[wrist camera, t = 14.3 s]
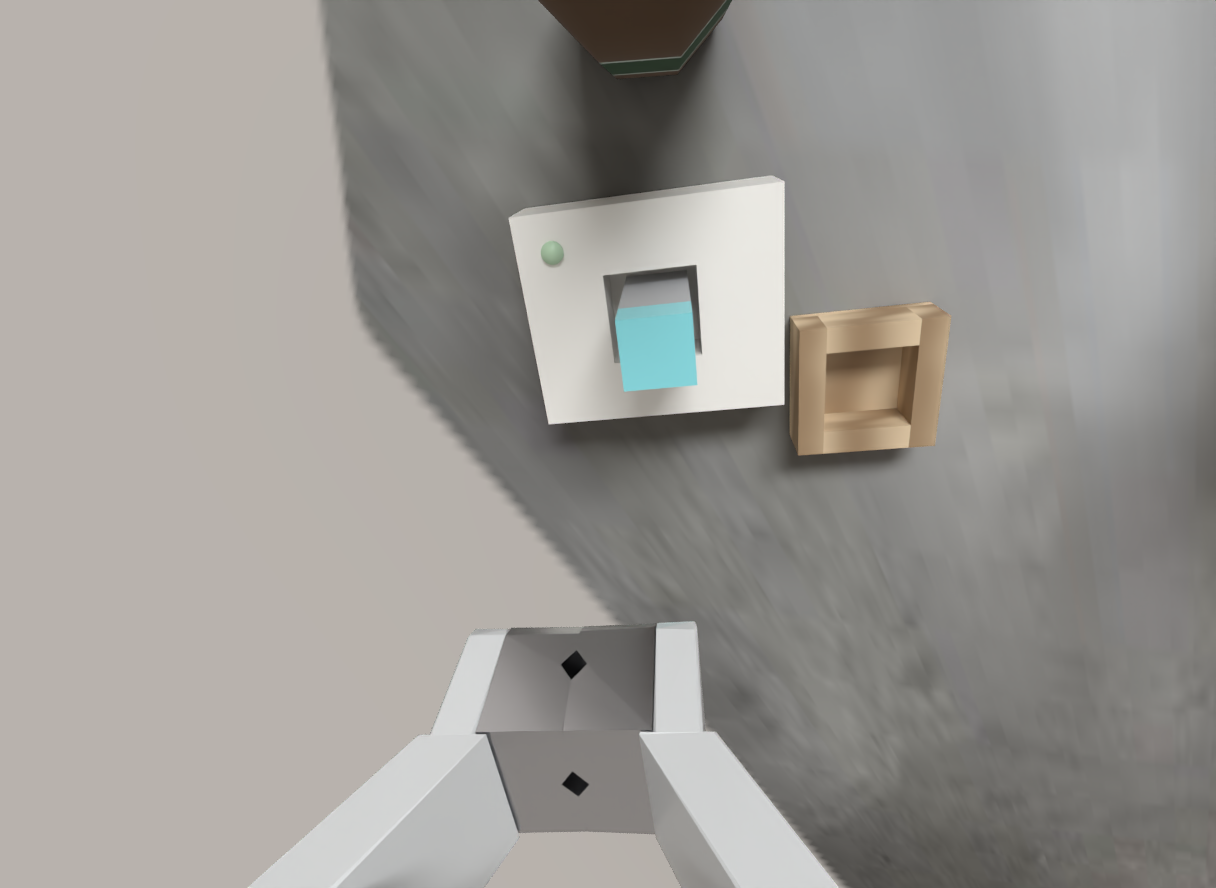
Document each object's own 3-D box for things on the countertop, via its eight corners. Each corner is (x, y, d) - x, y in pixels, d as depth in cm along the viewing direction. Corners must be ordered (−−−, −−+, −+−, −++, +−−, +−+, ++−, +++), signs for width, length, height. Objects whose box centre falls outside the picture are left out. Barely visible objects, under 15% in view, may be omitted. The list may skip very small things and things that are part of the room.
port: (771, 175, 33) (785, 182, 30) (773, 379, 39) (784, 406, 35) (524, 208, 35) (507, 218, 32) (558, 398, 41) (548, 425, 37)
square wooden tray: (930, 301, 36) (951, 316, 33) (916, 424, 39) (934, 445, 37) (790, 316, 37) (799, 331, 34) (789, 433, 40) (798, 455, 38)
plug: (686, 269, 35) (692, 312, 27) (690, 328, 37) (697, 385, 29) (626, 276, 36) (614, 320, 28) (633, 334, 37) (624, 391, 29)
